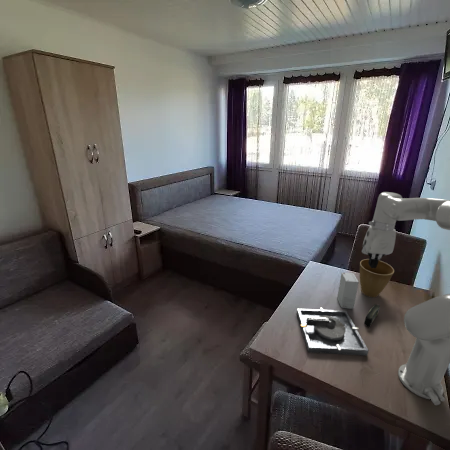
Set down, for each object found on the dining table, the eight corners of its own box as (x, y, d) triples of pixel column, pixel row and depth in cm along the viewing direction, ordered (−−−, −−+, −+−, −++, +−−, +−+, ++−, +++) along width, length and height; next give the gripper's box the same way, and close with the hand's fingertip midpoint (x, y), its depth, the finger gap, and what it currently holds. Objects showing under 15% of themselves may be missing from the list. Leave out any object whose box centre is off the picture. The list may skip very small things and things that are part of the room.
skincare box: (353, 309, 124) (360, 282, 118) (340, 307, 125) (346, 281, 119) (348, 298, 132) (354, 272, 126) (336, 297, 133) (341, 271, 127)
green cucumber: (372, 320, 111) (382, 302, 121) (365, 316, 113) (375, 299, 123) (370, 329, 113) (379, 311, 123) (362, 325, 115) (372, 308, 125)
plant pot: (349, 284, 143) (355, 258, 137) (377, 285, 143) (384, 259, 137) (361, 301, 129) (368, 273, 123) (392, 303, 129) (400, 275, 123)
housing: (369, 357, 99) (371, 351, 98) (306, 353, 100) (307, 347, 99) (346, 314, 121) (347, 309, 120) (294, 311, 121) (295, 306, 120)
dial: (339, 320, 115) (341, 309, 113) (349, 341, 104) (351, 330, 102) (302, 317, 116) (304, 307, 114) (309, 338, 105) (310, 327, 103)
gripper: (367, 227, 98) (357, 270, 105) (408, 229, 97) (395, 272, 104) (359, 220, 105) (349, 261, 112) (397, 222, 104) (385, 262, 111)
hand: (372, 266), depth 108 cm, fingers closed
